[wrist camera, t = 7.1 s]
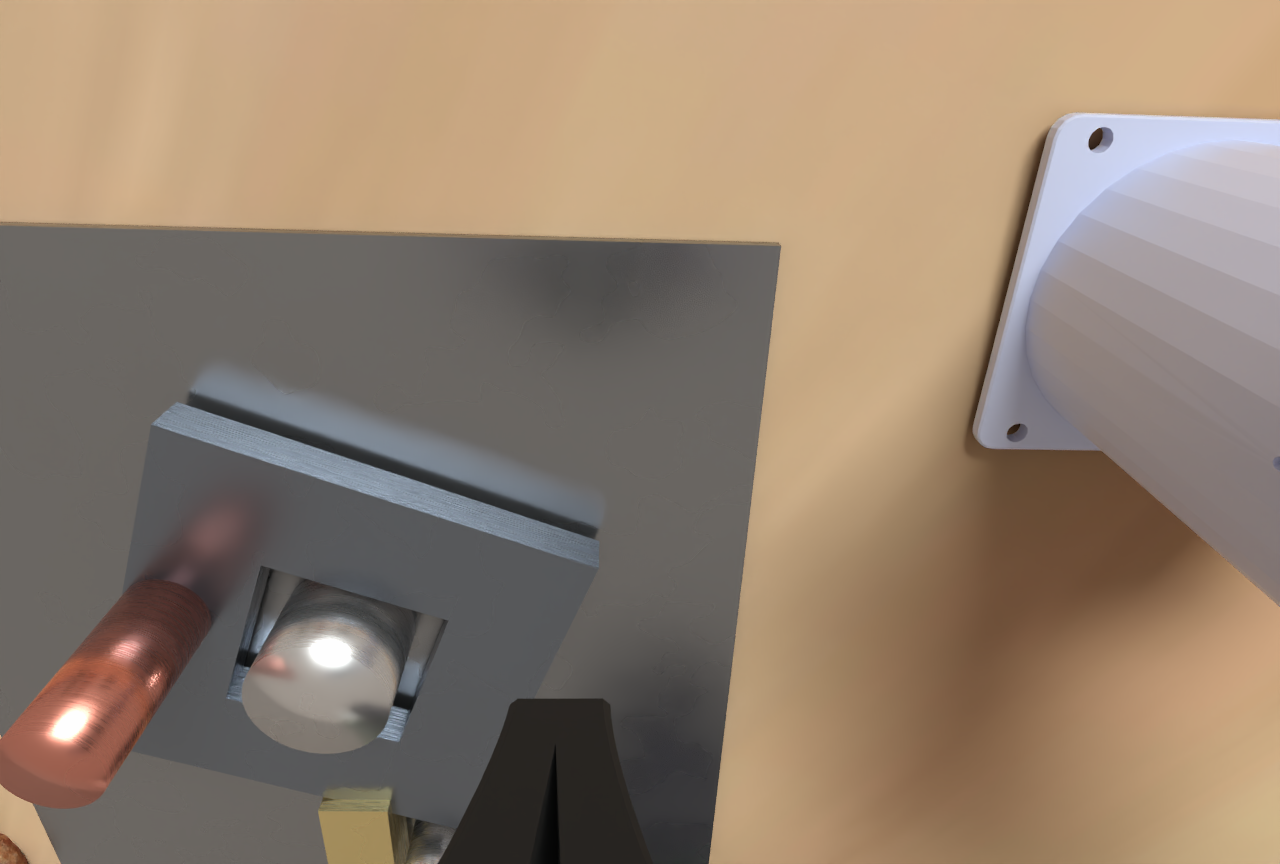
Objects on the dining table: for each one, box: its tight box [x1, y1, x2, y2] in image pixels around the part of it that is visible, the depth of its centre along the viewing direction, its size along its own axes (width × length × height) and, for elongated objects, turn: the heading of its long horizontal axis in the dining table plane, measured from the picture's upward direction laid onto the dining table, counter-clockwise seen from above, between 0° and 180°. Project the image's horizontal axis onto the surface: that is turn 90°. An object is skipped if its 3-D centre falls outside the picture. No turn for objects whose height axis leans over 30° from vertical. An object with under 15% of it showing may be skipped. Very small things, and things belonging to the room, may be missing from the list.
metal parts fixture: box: [0, 402, 599, 864], centre depth 20 cm, size 15×11×6 cm
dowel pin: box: [405, 819, 456, 864], centre depth 25 cm, size 2×2×3 cm
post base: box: [0, 222, 781, 864], centre depth 21 cm, size 22×22×3 cm
